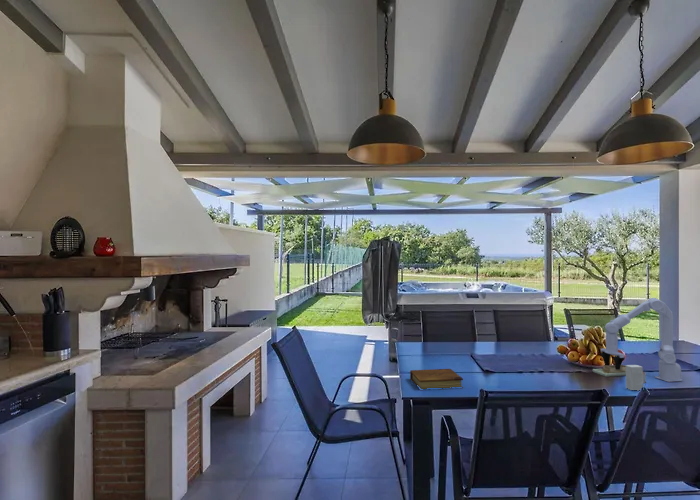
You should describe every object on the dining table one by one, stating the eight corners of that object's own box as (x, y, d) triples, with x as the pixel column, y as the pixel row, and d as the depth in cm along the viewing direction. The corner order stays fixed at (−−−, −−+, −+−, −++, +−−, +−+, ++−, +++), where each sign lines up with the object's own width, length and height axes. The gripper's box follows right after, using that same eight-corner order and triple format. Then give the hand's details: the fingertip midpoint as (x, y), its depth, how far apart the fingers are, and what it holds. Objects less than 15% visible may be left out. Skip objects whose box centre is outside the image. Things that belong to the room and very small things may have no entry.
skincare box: (637, 388, 202) (636, 364, 203) (643, 390, 198) (643, 366, 198) (625, 388, 202) (625, 364, 202) (631, 391, 198) (631, 367, 198)
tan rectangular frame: (621, 370, 231) (621, 364, 231) (629, 372, 226) (629, 367, 226) (600, 371, 229) (600, 365, 229) (607, 374, 224) (607, 368, 224)
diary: (450, 378, 223) (449, 368, 224) (463, 389, 205) (463, 378, 205) (410, 379, 221) (410, 369, 221) (419, 391, 202) (419, 380, 202)
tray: (622, 369, 234) (622, 367, 234) (636, 374, 224) (636, 372, 224) (592, 371, 231) (592, 369, 231) (605, 376, 221) (605, 374, 222)
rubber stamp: (640, 380, 214) (640, 370, 214) (647, 383, 210) (647, 372, 210) (636, 380, 214) (636, 370, 214) (643, 383, 210) (643, 373, 210)
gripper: (595, 341, 234) (596, 364, 234) (615, 346, 220) (616, 371, 220) (606, 340, 235) (607, 363, 235) (627, 346, 221) (627, 370, 221)
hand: (612, 367), depth 228 cm, fingers open, 7 cm apart
